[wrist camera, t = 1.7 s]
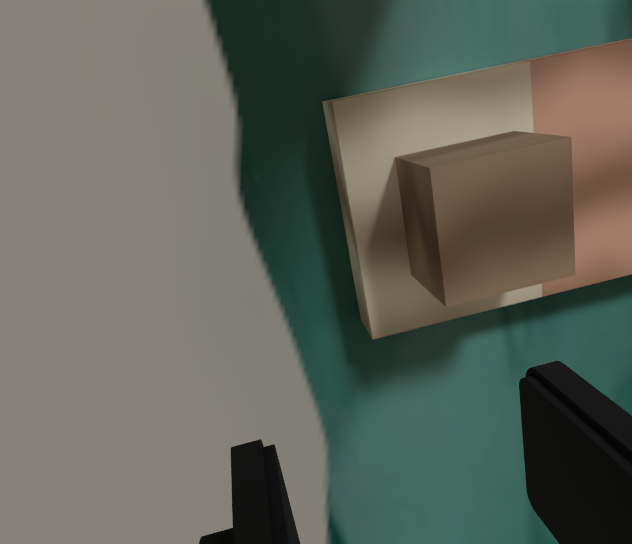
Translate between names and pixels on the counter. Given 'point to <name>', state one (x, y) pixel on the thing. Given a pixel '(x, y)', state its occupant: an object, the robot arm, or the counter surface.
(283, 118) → the counter surface
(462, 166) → the walnut block
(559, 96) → the trap deck
